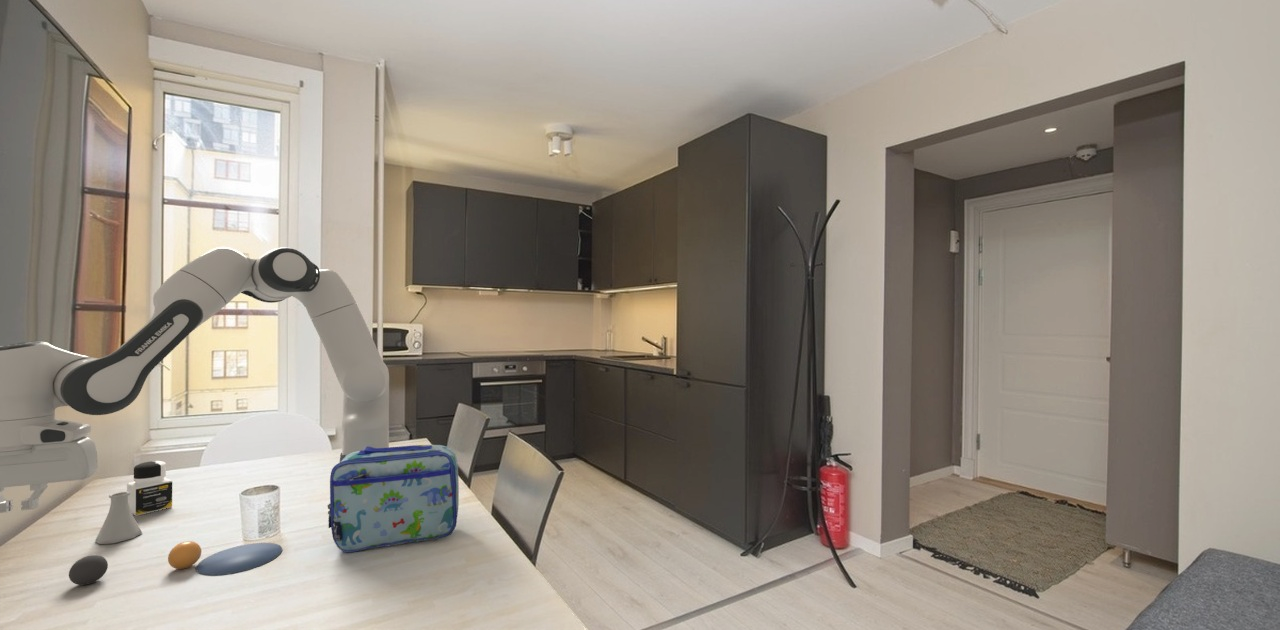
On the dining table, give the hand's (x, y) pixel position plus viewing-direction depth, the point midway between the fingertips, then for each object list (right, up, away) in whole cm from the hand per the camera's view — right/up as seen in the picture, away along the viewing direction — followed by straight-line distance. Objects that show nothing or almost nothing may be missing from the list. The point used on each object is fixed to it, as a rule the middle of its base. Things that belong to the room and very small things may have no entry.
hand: (16, 510), depth 93 cm
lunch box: (+57, -16, +23) cm, 63 cm away
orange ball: (+21, -13, +10) cm, 27 cm away
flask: (-6, -16, +24) cm, 29 cm away
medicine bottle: (-15, -16, +41) cm, 47 cm away
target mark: (+29, -15, +14) cm, 36 cm away
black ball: (+9, -13, +4) cm, 16 cm away
